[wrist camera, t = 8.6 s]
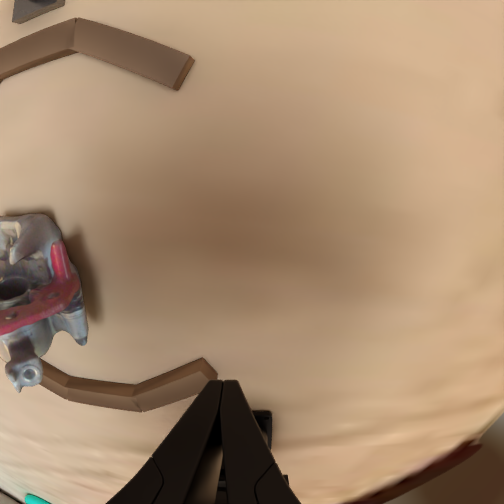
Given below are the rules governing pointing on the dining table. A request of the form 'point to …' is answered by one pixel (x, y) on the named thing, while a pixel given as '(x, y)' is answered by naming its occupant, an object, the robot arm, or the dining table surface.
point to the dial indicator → (33, 8)
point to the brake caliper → (35, 295)
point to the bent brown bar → (160, 70)
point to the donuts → (34, 500)
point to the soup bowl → (6, 499)
